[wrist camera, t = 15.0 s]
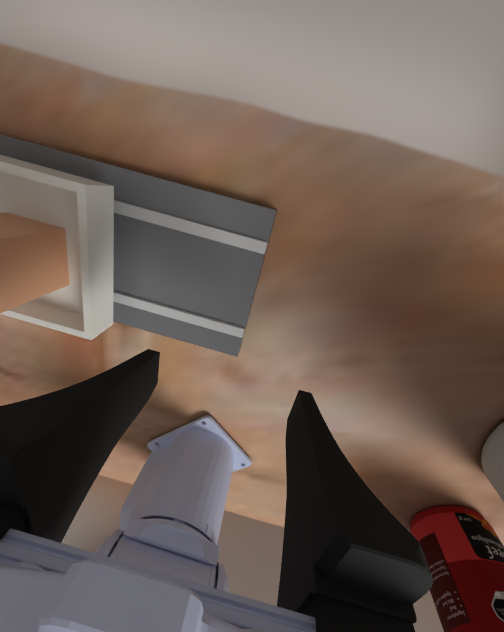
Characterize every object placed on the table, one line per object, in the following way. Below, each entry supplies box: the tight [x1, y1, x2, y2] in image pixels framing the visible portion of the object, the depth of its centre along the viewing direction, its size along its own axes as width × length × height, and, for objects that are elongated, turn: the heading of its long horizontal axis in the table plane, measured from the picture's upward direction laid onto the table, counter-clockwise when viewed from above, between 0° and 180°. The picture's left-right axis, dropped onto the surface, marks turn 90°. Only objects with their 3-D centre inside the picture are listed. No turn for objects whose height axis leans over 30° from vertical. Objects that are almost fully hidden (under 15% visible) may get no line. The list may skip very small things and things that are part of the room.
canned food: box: [410, 505, 504, 632], centre depth 25 cm, size 8×8×11 cm
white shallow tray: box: [0, 155, 114, 340], centre depth 18 cm, size 10×10×4 cm
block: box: [0, 213, 70, 313], centre depth 16 cm, size 4×4×5 cm
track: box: [0, 134, 277, 357], centre depth 20 cm, size 22×12×3 cm, turn 76°
